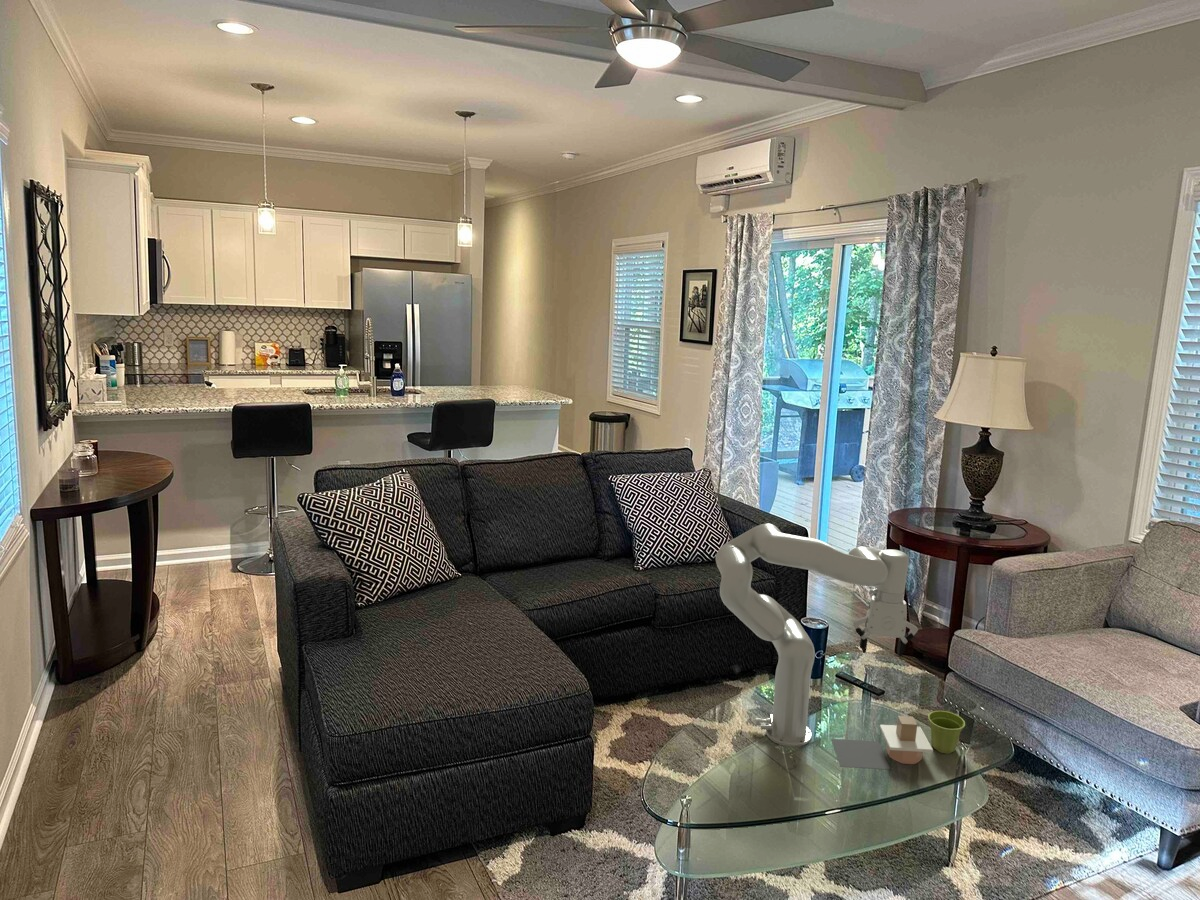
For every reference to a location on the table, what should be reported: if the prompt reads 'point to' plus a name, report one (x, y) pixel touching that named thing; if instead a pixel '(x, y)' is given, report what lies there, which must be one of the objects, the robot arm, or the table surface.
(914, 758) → the bowl
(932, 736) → the plant pot
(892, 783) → the table surface
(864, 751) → the mat
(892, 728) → the lid
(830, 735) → the table surface
